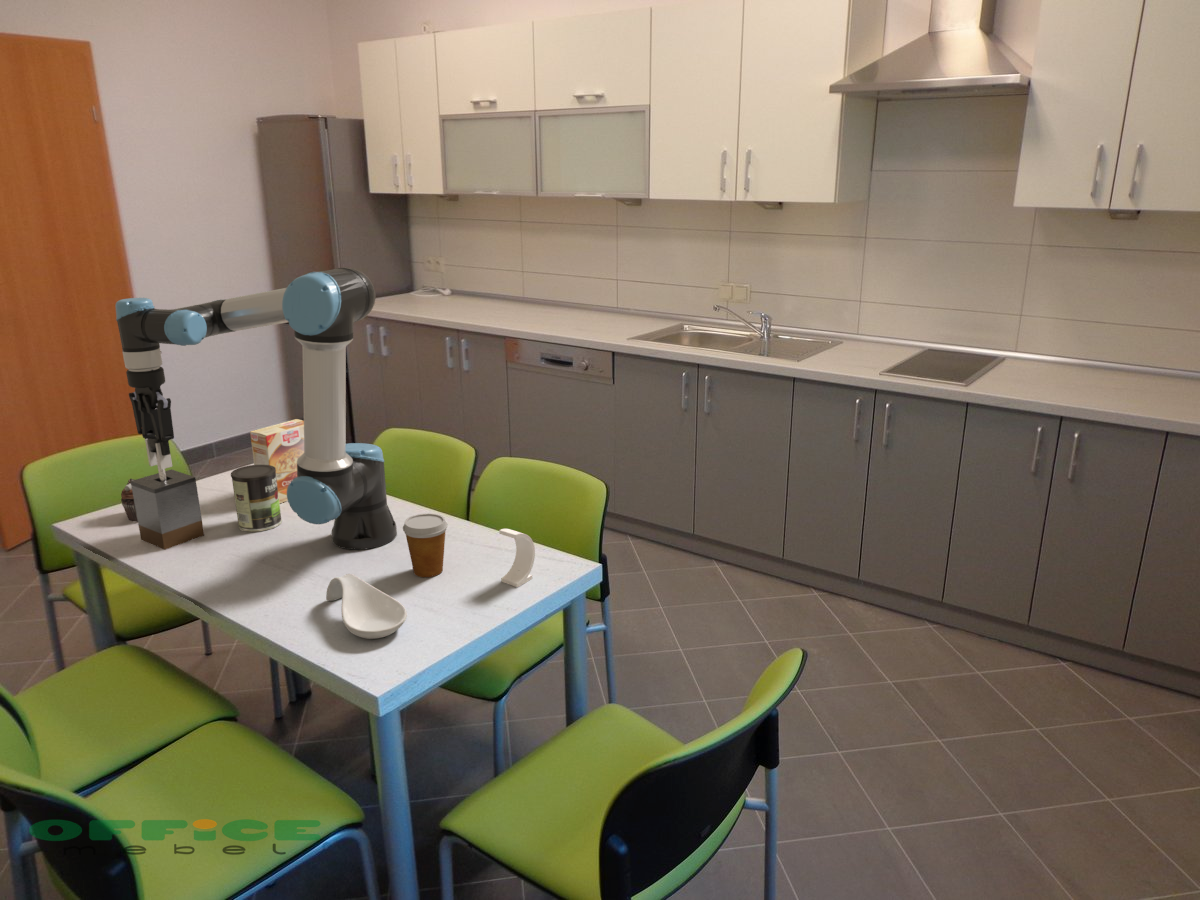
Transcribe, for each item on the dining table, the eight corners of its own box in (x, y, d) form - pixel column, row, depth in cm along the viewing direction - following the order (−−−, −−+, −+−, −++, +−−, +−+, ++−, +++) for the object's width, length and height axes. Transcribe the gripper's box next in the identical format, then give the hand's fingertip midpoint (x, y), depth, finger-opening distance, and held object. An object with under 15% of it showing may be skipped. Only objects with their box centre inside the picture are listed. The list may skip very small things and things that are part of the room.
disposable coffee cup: (457, 565, 191) (455, 515, 188) (436, 583, 183) (433, 532, 179) (420, 559, 194) (416, 510, 191) (397, 577, 186) (393, 526, 182)
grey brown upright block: (204, 535, 207) (195, 477, 202) (164, 549, 199) (154, 489, 194) (180, 526, 212) (171, 469, 208) (141, 540, 204) (130, 481, 200)
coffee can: (288, 516, 219) (282, 464, 214) (272, 532, 209) (265, 478, 205) (248, 516, 219) (241, 463, 215) (230, 532, 209) (223, 477, 205)
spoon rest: (419, 633, 164) (416, 599, 161) (362, 655, 156) (358, 620, 154) (361, 590, 181) (358, 559, 178) (308, 607, 173) (304, 575, 171)
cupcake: (125, 526, 213) (118, 488, 210) (124, 513, 221) (117, 476, 218) (167, 518, 217) (161, 481, 214) (165, 506, 225) (159, 470, 222)
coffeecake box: (274, 506, 225) (265, 435, 219) (257, 500, 229) (248, 431, 223) (320, 489, 237) (313, 421, 231) (303, 484, 241) (295, 417, 235)
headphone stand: (501, 581, 184) (499, 530, 180) (519, 571, 188) (518, 521, 185) (517, 587, 181) (515, 535, 177) (535, 577, 186) (534, 526, 182)
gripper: (181, 369, 191) (196, 468, 199) (140, 360, 200) (156, 455, 207) (148, 375, 185) (165, 477, 193) (108, 366, 194) (125, 464, 202)
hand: (160, 465), depth 200 cm, fingers closed on plunger, 4 cm apart
